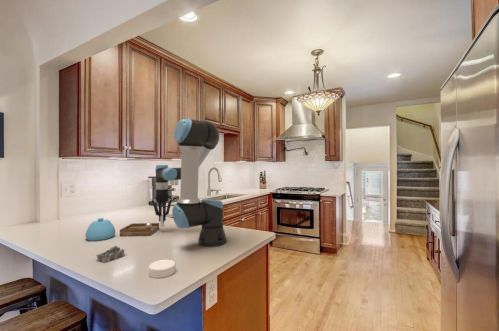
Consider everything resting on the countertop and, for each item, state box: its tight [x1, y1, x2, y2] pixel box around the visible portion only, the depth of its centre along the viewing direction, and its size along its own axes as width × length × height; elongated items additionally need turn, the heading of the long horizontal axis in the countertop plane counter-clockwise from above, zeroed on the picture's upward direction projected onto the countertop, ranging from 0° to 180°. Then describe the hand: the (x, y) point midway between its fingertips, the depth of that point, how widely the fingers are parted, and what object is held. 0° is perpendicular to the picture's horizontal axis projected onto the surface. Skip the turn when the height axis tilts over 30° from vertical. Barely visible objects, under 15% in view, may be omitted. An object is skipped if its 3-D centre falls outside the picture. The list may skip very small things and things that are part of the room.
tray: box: [119, 222, 160, 237], centre depth 155 cm, size 16×18×4 cm
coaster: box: [148, 259, 177, 279], centre depth 96 cm, size 10×10×4 cm
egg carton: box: [95, 245, 125, 263], centre depth 112 cm, size 11×8×4 cm
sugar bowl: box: [84, 217, 116, 242], centre depth 144 cm, size 15×15×12 cm
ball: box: [145, 222, 152, 229], centre depth 155 cm, size 4×4×4 cm
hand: (162, 226), depth 155 cm, fingers closed
